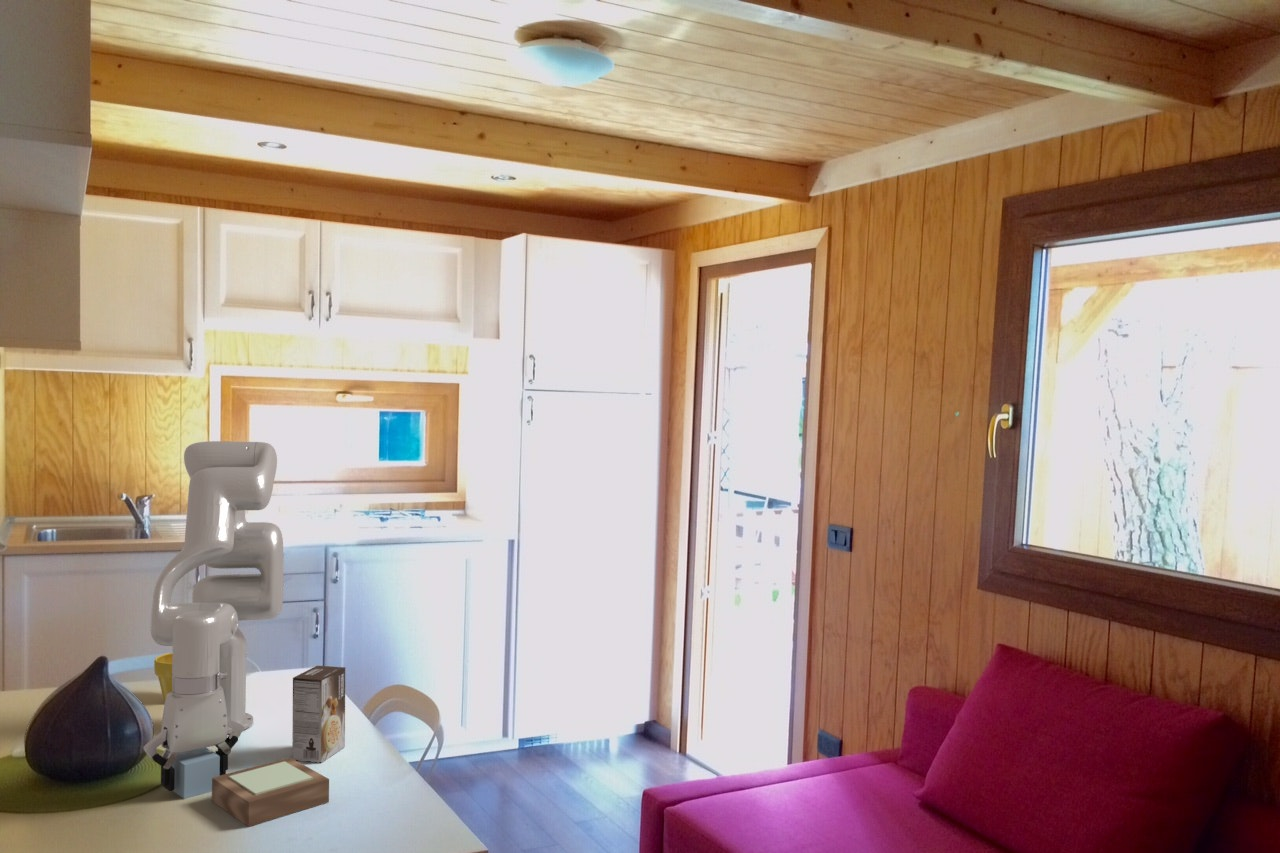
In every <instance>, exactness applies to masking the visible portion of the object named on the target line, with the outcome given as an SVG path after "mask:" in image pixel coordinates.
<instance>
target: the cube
mask: <svg viewBox="0 0 1280 853" xmlns="http://www.w3.org/2000/svg"><path fill="white" fill-rule="evenodd" d="M215 753H216V752H214V751H212V750H210V749H209V748H208V747H206V748H202V749H198V750H194V751H190V752H185V753H181V754H179V755H178V756H177V758H176V759H175V761H174V763H173V764H172V767H173V768H174V769H175V786H174V790H173V791H172V792H174V793H175V794H176V795H177V796H179V797H181V798H182V799H183V800H186V799H187V800H188V799H190V798H193V797H194V798H195V797H197V796H201V795H205V794H209V793H212V778H213V777H217V776H220V756H219V755H217V754H215Z"/></svg>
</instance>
